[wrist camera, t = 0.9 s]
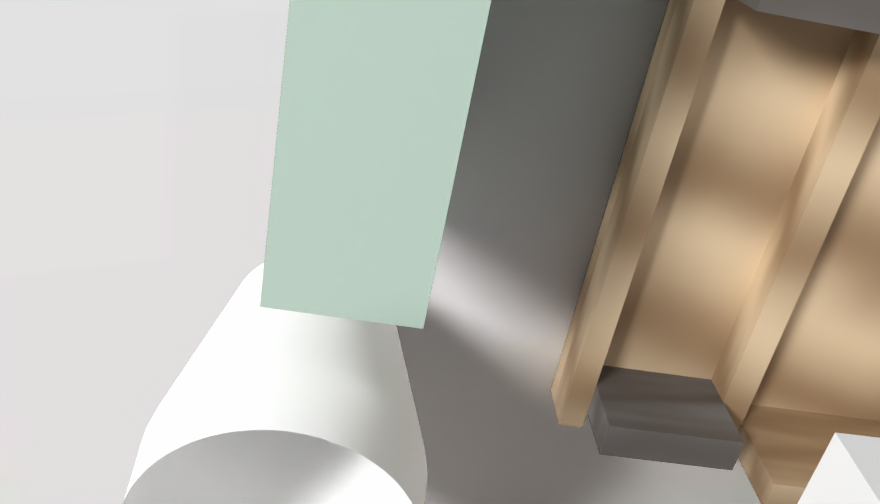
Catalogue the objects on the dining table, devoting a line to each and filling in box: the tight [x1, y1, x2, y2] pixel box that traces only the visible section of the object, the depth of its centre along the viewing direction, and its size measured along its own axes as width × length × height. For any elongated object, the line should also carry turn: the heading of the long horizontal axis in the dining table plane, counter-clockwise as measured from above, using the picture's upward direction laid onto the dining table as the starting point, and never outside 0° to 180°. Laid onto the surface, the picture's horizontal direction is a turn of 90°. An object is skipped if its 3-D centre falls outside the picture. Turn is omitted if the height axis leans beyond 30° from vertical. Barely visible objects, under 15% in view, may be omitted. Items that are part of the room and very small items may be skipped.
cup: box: [122, 263, 428, 504], centre depth 29 cm, size 9×9×12 cm
